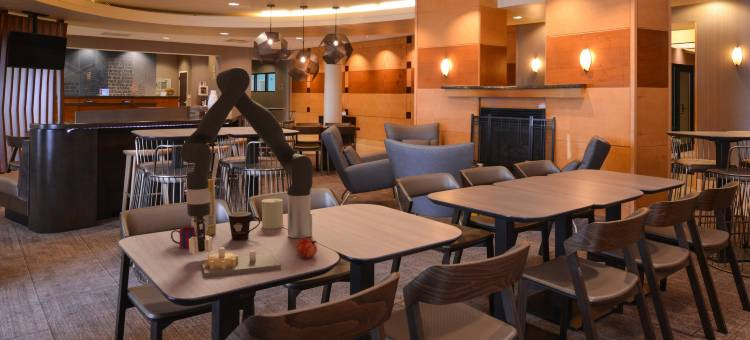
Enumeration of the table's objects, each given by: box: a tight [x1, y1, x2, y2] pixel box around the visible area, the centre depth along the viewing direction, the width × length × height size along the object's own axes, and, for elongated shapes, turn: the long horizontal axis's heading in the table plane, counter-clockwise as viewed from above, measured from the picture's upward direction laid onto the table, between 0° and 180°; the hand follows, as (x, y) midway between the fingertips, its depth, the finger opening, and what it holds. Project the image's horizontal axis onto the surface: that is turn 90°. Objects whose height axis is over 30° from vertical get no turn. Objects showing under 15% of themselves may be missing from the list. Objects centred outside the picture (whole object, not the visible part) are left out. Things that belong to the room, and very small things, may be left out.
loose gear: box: [188, 235, 214, 255], centre depth 192 cm, size 8×6×4 cm
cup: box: [170, 226, 196, 250], centre depth 209 cm, size 7×10×7 cm
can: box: [261, 198, 284, 230], centre depth 240 cm, size 9×9×12 cm
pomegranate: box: [295, 237, 318, 259], centre depth 195 cm, size 7×7×10 cm
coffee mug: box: [228, 211, 261, 242], centre depth 219 cm, size 12×9×10 cm
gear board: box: [200, 246, 282, 278], centre depth 184 cm, size 24×14×7 cm, turn 111°
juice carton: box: [190, 178, 217, 237], centre depth 225 cm, size 9×8×24 cm
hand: (200, 248), depth 192 cm, fingers closed on loose gear, 6 cm apart
